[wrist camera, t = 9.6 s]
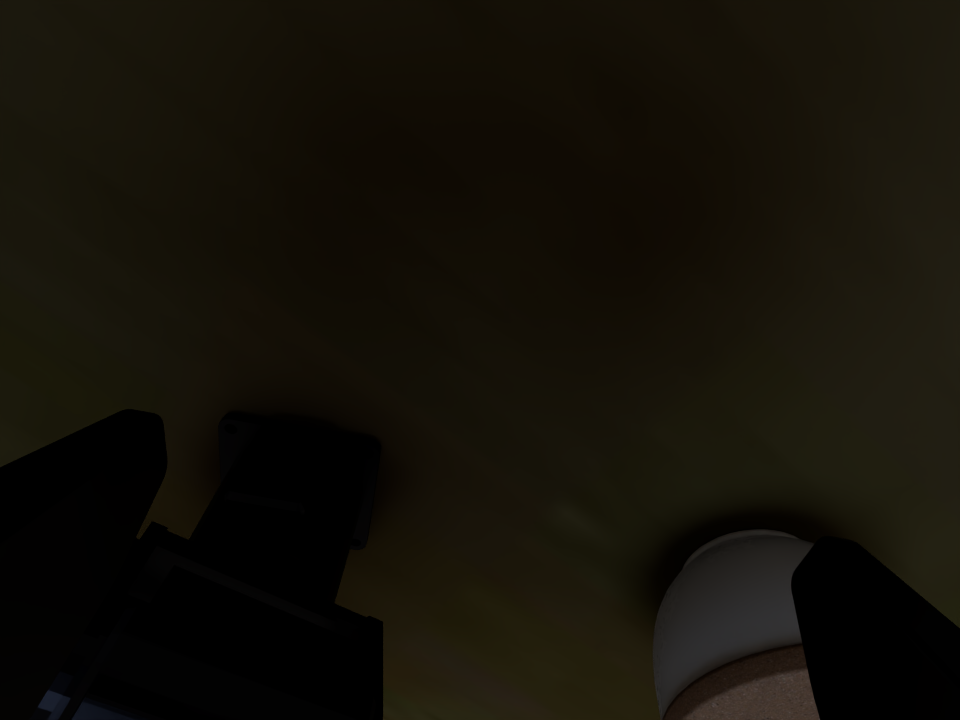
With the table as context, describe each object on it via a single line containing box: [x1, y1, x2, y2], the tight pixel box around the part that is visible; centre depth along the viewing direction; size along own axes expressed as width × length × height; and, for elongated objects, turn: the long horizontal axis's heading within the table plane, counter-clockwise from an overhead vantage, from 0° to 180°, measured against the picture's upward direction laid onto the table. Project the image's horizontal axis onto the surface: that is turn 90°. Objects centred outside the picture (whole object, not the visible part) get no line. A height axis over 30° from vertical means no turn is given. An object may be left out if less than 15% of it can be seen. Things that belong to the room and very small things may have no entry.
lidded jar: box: [653, 529, 820, 720], centre depth 24 cm, size 11×11×9 cm
